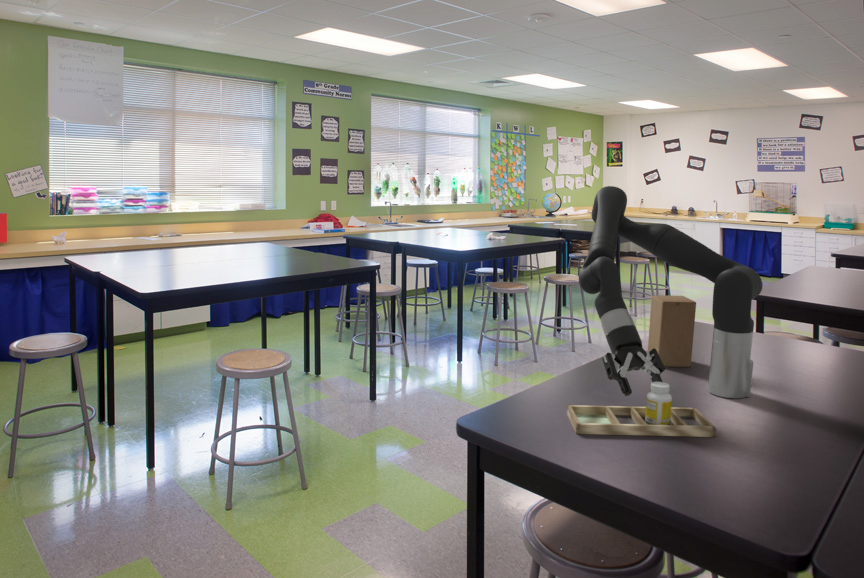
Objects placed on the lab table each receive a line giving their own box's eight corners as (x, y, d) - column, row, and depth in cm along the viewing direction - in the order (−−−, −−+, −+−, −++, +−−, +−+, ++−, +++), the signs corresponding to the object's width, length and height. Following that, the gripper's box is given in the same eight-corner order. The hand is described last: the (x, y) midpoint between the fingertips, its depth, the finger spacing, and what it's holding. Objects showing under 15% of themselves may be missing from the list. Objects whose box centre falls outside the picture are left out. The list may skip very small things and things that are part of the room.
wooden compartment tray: (694, 416, 145) (695, 407, 145) (715, 437, 134) (716, 427, 133) (566, 413, 146) (567, 405, 146) (576, 433, 135) (576, 424, 134)
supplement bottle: (669, 422, 142) (672, 382, 140) (670, 431, 136) (673, 389, 135) (644, 419, 143) (647, 379, 142) (644, 428, 138) (647, 386, 136)
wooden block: (691, 367, 183) (697, 301, 180) (657, 367, 184) (662, 301, 180) (678, 357, 193) (683, 295, 190) (646, 357, 193) (651, 295, 190)
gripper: (637, 336, 155) (662, 396, 147) (588, 340, 151) (610, 402, 143) (653, 322, 149) (679, 383, 141) (601, 325, 145) (625, 389, 137)
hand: (644, 392), depth 142 cm, fingers open, 8 cm apart
